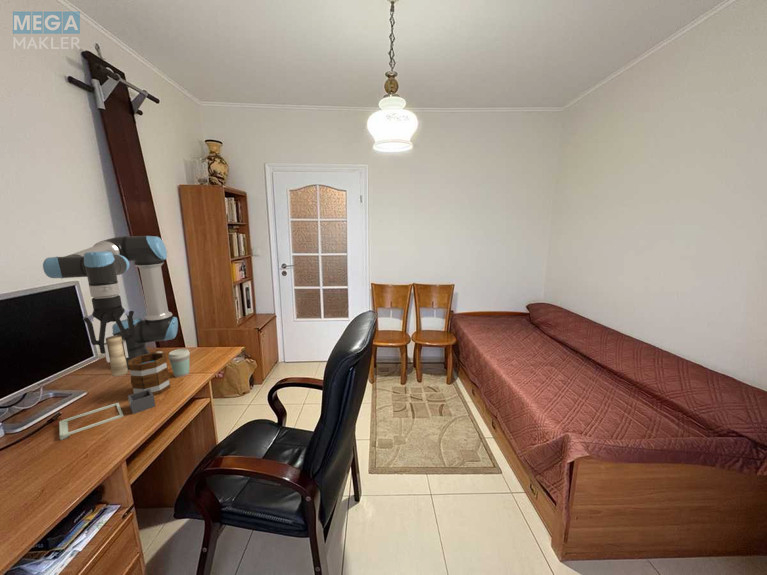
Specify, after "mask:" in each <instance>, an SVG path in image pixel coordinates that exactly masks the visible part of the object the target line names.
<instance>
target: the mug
mask: <svg viewBox="0 0 767 575" xmlns="http://www.w3.org/2000/svg"><path fill="white" fill-rule="evenodd" d="M128 366H129V369H128V370H129V372H130V383H131V386H132V390H133V394H135V393H138V392H141V391H145V390H148V389H150V390H151V392H152V393H153V395H154V397H155V396H158V395H161V394H163V393H165V392H166V391H168V390H170V389H171V383H170V377H169V376H170V375H169V374H170V373H169V368H168V364H167V354H166V352H164V351H159V350H158V351H155V352H151V353H150V354H145V355H140V356H138V357H135V358H133V359H131V360H129V361H128Z"/></svg>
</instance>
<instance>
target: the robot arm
mask: <svg viewBox="0 0 767 575" xmlns="http://www.w3.org/2000/svg"><path fill="white" fill-rule="evenodd" d="M167 259H168V251H167V248H166V245H165V243H164V241H163V240H162V238H161V237H159V236H157V235H156V236H154V235H153V236H152V235H137V236H136V235H134V236H133V235H132V236H122V235H121V236H116V237H115V236H114V237H112V238H107V239H104V240H101V241H97V242H96V243H95V244H93V246H92V247H88V248H86V249H83V250H80V251H76V252H74V253H72V254H71V253H70V254H68V255H65V256H53V257H46V258H45V259H44V261H43V263H42V270H43V273H44V274H45V276H47V277H48V278H50V279H61V280H62V279H70V278H71V279H73V278H74V279H75V278H85V277H86V278H87V282H88V288H89V293H90V297H91V298H92V299H91V303H92V308H93V311H92V314H90V315H87V316H83V318H82V320H83V321H84V323H85V324H86V326H87V330H88V335H89V339H90V342H91V343H90V344H91V345H92V346H99V348H98V349H99V351H100V353H101V355H103V354H105V360H106V362H107V363H110V357H109V352H108V347H107V344H106V342H105V340H106V330H107V324H109V323H111V322H115V323H114V324H112V336H116V335H121V336H122V340H123V346H124V352H125V357H126V362H127V368H128V370H130V369H129V366H128V361H129V360H131V359H133V358H135V357H138V356H140V355H145V354H150V351H149V349H148V347H147V346H146V344H147V343H155V342H163V341H164V342H165V341H169V340H173V339H175V338H176V336H177V334H178V330H179V329H178V328H179V320H178V317H177V316H173V313H172V312H171V311H169V307H168V301H167V296H166V290H165V284H164V283H165V282H164V277H163V271H162V270H163V269H162V266H163V265H164V264H165V262H164V261H165V260H167ZM132 261H133V263H134V266H135V267H137V268H138V269H139V273H140V279H141V284H142V290H143V295H144V300H145V305H146V312H147V315H146V316H145V317H144V319H143V318H142V317H140V316H139V317H137V316H136V317H134V312H135V311H134V310H133V309H125V308H124V307H123V305H122V304H123V303H122V297H121V295H119V294H120V288H119V281H118V276H120V275H122V274H124V273H126V272H127V271H128V270H129V268H130V262H132ZM123 314H125V316H126V319H122V320H121V318H122V316H123ZM94 318H95V319H96V320H98V321H99V322H100V324H99V334H98V340H97V338H96V333H95V329H94V325H93V323H92V322H94Z"/></svg>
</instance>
